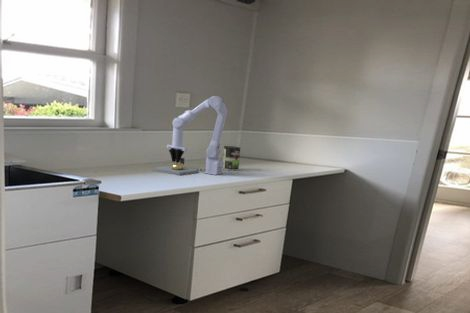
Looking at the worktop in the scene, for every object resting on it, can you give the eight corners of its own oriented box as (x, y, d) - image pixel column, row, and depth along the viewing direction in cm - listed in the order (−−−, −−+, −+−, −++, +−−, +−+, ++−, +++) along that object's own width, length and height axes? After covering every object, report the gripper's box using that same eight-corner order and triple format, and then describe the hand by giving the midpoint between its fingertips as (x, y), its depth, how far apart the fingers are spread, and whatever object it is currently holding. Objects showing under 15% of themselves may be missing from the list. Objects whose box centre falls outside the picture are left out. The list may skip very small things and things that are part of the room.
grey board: (198, 172, 264) (199, 169, 264) (179, 175, 249) (179, 172, 249) (173, 167, 274) (173, 165, 274) (153, 170, 259) (153, 167, 259)
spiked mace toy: (180, 170, 257) (181, 160, 256) (170, 168, 258) (170, 159, 257) (187, 167, 269) (188, 158, 268) (177, 166, 270) (177, 157, 269)
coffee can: (242, 170, 286) (243, 147, 284) (229, 171, 279) (231, 148, 278) (231, 167, 294) (233, 145, 292) (218, 168, 287) (220, 145, 285)
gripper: (191, 140, 265) (189, 163, 266) (173, 137, 274) (172, 159, 275) (182, 140, 259) (180, 164, 261) (164, 137, 268) (163, 160, 270)
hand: (175, 162), depth 268 cm, fingers open, 3 cm apart
